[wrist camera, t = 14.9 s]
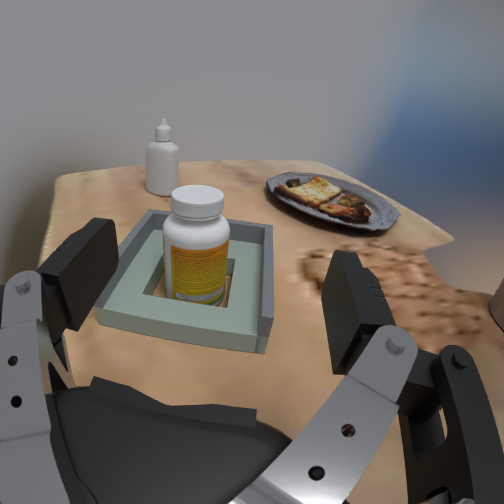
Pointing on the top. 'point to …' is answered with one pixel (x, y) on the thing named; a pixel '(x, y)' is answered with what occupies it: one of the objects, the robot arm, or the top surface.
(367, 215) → the food plate
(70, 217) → the top surface
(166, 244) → the supplement bottle
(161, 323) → the box
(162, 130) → the eye dropper bottle
